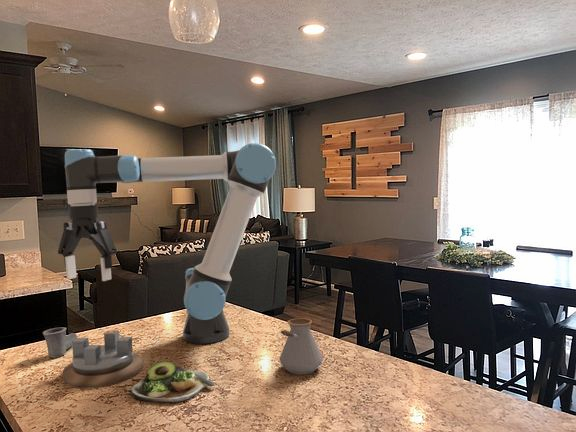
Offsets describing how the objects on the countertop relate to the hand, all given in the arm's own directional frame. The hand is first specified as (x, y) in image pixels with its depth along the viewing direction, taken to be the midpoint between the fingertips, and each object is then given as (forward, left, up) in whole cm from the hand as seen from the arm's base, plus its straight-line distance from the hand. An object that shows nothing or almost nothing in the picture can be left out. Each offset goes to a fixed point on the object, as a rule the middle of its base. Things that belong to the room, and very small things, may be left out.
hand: (89, 279), depth 131 cm
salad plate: (-28, +18, -24) cm, 41 cm away
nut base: (-7, +8, -24) cm, 26 cm away
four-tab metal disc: (-7, +8, -22) cm, 24 cm away
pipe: (+13, -7, -24) cm, 29 cm away
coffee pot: (-59, +13, -24) cm, 65 cm away
